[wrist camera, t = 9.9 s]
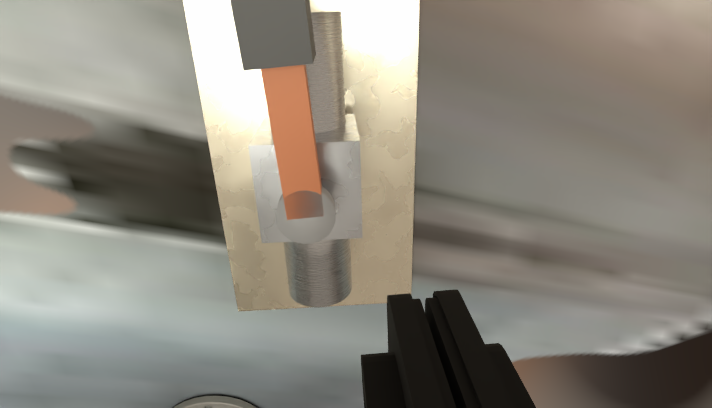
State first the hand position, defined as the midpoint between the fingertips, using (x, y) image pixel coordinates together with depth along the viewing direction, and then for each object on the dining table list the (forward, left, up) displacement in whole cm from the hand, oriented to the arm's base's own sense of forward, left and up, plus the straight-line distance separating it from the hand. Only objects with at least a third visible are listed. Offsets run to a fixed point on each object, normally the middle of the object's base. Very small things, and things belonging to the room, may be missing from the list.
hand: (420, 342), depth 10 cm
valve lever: (+2, +4, -16) cm, 16 cm away
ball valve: (-3, +4, -26) cm, 27 cm away
